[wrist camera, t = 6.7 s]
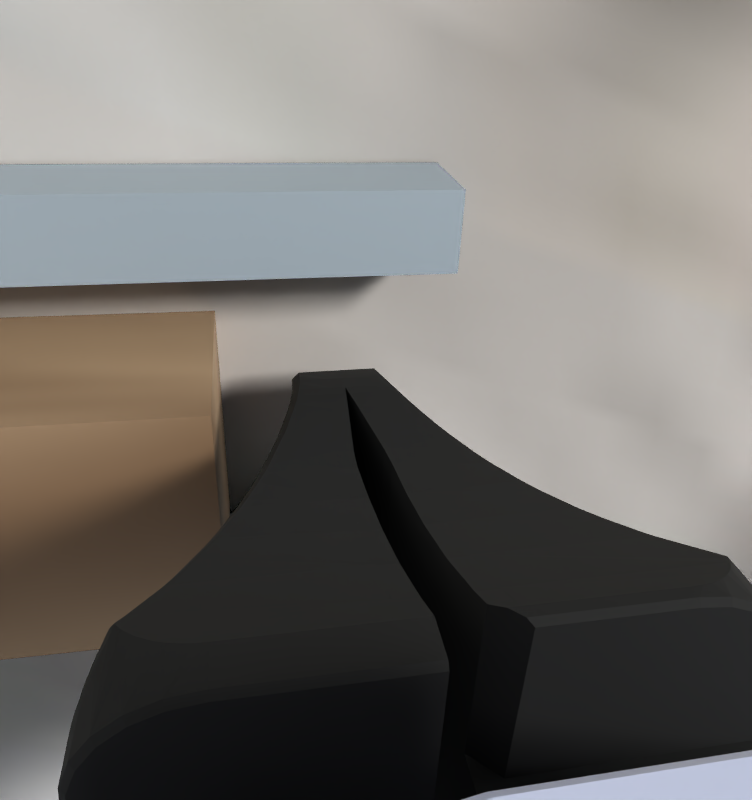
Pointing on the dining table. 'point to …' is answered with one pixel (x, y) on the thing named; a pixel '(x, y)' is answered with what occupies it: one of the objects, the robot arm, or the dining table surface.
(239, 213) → the jig
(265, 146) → the dining table surface
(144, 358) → the tan block
